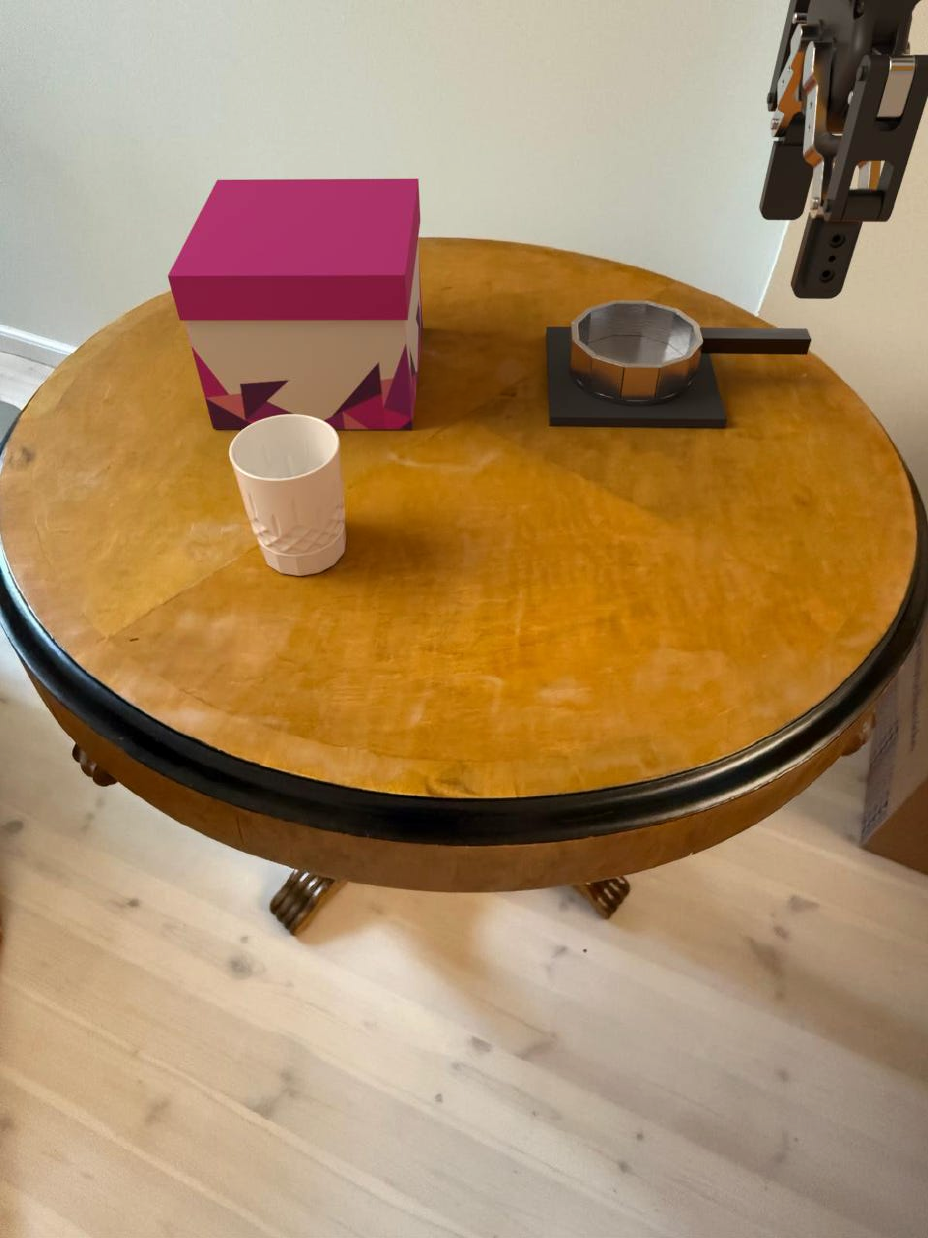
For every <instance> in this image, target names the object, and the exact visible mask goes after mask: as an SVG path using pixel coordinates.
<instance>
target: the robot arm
mask: <svg viewBox="0 0 928 1238" xmlns="http://www.w3.org/2000/svg"><path fill="white" fill-rule="evenodd" d="M921 1H922V0H789V3H788V8H787V12H786V13H787V14H786V17H785V21H784V26H783V31H782V35H781V38H780V44H779V48H778V52H777V53H778V54H777V57H776V61H775V66H774V70H773V74H772V78H771V84H770V87H769V92H768V93H767V96H766V105H767V111H768V112H769V113H772V112H773V116H772V118H771V120H770V122H769V123H770V124H769V130H770V137H771V138H775V139H776V138H777V140H773V142H772V146H771V151H770V155H769V159H768V165H767V169H766V174H765V178H764V183H763V186H762V187H763V188H762V190H761V196H760V201H759V205H758V209H759V210H758V211H759V212H760V214H761V217H762V218H763V219H764V220H766V221H795V220H798V219H800V218H801V217H802V215H803V214H804V213H805V208H806V204H807V200H808V197H809V193H810V189H811V197H810V200H809V210H810V211H809V212H808V216H807V220H806V223H805V227H804V230H803V234H802V239H801V242H800V246H799V250H798V252H797V256H796V261H795V264H794V268H793V271H792V276H791V279H790V287H791V289H792V293H793V295H794V296H795V297H796V298H797V299H801V300H805V299H806V300H807V299H809V300H830V299H835V298H836V297H838V296H839V295H840V293H841V292H842V290H843V287H844V284H845V281H846V278H847V275H848V271H849V268H850V266H851V263H852V258H853V257H854V256H853V255H854V253H855V249H856V246H857V242H858V239H859V236H860V233H861V230H862V226H863V223H887V222H888V221H889V220H890V218H891V217H892V214H893V211H894V209H895V205H896V202H897V200H898V199H897V198H898V195H899V192H900V189H901V185H902V182H903V179H904V175H905V172H906V170H907V166H908V163H909V159H910V156H911V154H912V153H911V152H912V150H913V146H914V143H915V140H916V136H917V134H918V130H919V128H920V124H921V120H922V118H923V114H924V111H925V108H926V104H927V102H928V54H911V44H910V41H909V38H910V32H911V28H912V22H913V12H914V10H915V8H916V6H917V5H918V4H919V3H920V2H921ZM882 162H883V165H882ZM881 166H882V167H881ZM857 167H858V178H857V179H858V180H857V187H851V185H852V182H853V178H854V174H855V171H856V168H857Z"/></svg>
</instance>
